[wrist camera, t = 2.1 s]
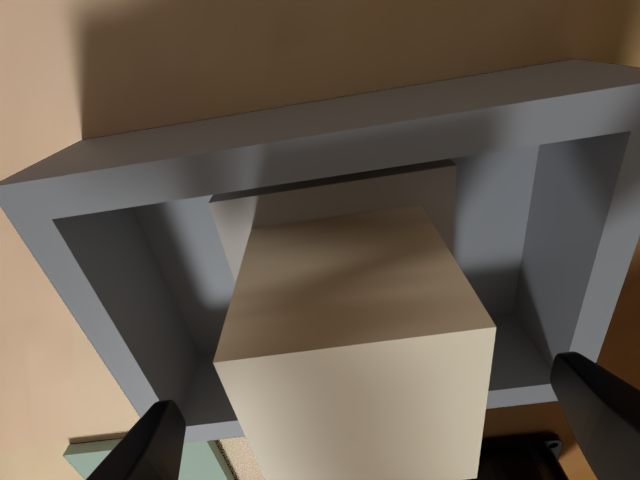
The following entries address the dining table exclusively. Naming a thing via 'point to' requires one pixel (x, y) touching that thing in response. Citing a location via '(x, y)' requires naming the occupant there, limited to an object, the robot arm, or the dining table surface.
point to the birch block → (357, 351)
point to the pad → (195, 470)
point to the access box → (340, 199)
